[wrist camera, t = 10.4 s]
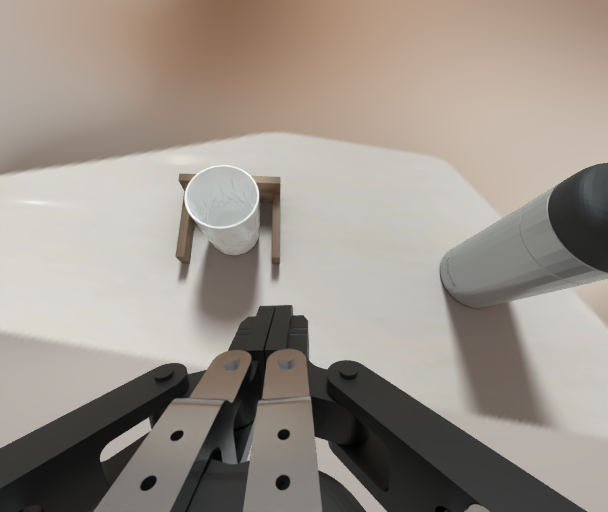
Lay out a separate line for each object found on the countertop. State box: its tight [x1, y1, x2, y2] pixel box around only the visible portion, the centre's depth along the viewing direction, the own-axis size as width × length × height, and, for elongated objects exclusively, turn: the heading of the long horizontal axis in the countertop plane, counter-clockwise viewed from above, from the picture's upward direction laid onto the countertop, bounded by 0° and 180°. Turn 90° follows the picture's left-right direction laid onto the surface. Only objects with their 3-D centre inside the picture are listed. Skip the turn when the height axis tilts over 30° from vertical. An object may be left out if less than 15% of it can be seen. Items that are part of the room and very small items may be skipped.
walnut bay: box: [176, 174, 280, 263], centre depth 38 cm, size 13×10×5 cm
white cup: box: [184, 165, 260, 255], centre depth 35 cm, size 8×8×10 cm
